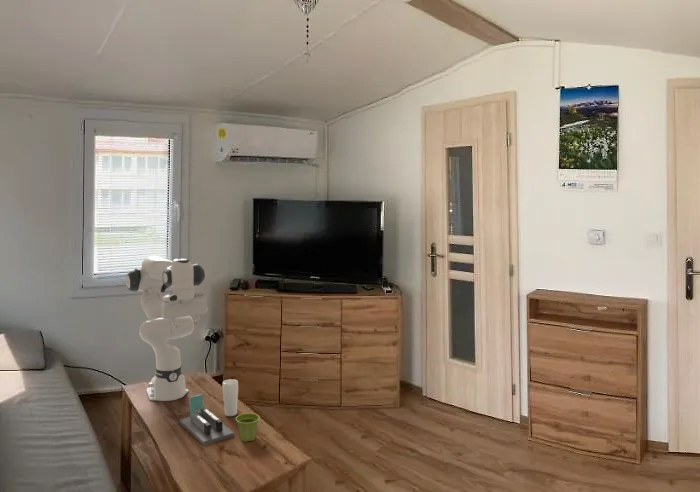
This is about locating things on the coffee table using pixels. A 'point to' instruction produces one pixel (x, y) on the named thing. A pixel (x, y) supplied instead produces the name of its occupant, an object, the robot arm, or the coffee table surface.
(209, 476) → the coffee table surface
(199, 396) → the collar
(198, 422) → the jaw
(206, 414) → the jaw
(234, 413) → the white cup
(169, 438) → the coffee table surface
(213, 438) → the plate
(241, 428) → the plant pot
